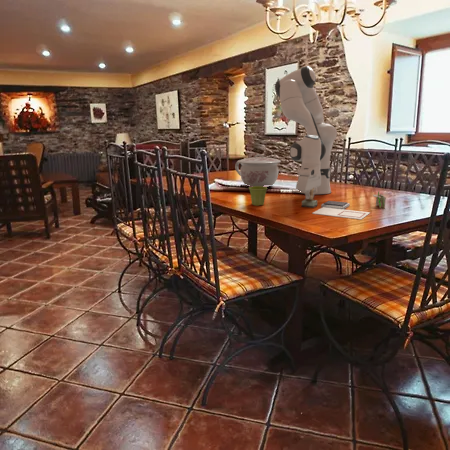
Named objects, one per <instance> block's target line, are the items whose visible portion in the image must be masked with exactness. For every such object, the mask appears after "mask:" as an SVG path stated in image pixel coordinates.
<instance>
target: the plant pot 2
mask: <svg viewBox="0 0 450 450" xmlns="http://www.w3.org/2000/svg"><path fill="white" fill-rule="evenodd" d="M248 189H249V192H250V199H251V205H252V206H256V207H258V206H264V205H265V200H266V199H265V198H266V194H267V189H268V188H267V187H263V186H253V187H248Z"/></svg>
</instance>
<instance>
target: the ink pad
mask: <svg viewBox="0 0 450 450" xmlns="http://www.w3.org/2000/svg"><path fill="white" fill-rule="evenodd" d="M349 206H350V203H349V202H345V201H336V200H335V201H334V200H328V201H325V202H324V203H322V204H321V205H320V208H323V207H326V208H335V209H344V210H346V209H348V208H349Z"/></svg>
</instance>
